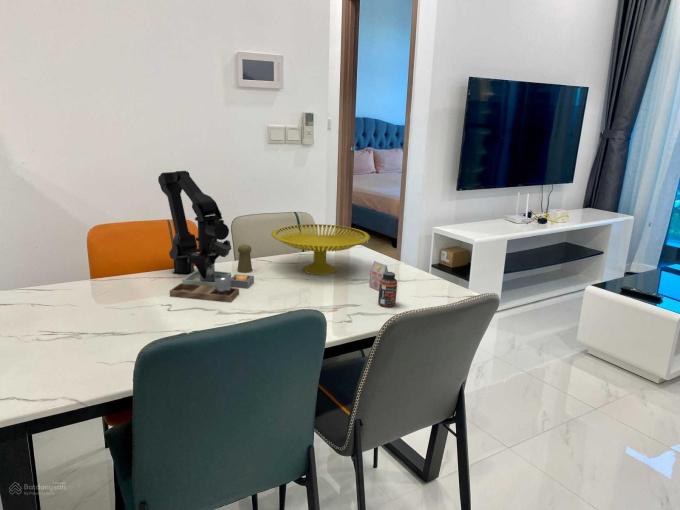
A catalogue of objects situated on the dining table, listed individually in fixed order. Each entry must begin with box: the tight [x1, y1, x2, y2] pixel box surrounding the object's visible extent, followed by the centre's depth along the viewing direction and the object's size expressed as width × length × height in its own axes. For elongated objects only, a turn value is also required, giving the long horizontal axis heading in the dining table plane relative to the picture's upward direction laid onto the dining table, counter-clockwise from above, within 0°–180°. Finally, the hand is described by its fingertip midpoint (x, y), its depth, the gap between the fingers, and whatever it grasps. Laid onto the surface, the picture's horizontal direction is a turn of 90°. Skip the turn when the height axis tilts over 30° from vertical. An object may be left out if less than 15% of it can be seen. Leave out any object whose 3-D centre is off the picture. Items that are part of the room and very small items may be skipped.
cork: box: [236, 244, 253, 274], centre depth 203 cm, size 6×6×11 cm
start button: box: [236, 274, 247, 281], centre depth 185 cm, size 4×4×3 cm
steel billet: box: [199, 263, 216, 282], centre depth 187 cm, size 5×5×7 cm
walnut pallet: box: [169, 283, 240, 303], centre depth 173 cm, size 21×8×3 cm, turn 81°
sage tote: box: [181, 269, 232, 286], centre depth 187 cm, size 13×13×3 cm
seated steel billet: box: [215, 275, 232, 296], centre depth 172 cm, size 5×5×7 cm
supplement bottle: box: [377, 271, 398, 308], centre depth 173 cm, size 6×6×11 cm
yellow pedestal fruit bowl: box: [270, 223, 371, 275], centre depth 210 cm, size 40×40×15 cm
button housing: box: [231, 273, 255, 289], centre depth 186 cm, size 7×7×4 cm
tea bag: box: [368, 260, 389, 292], centre depth 189 cm, size 4×7×10 cm, turn 36°
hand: (207, 276), depth 187 cm, fingers closed on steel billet, 5 cm apart
